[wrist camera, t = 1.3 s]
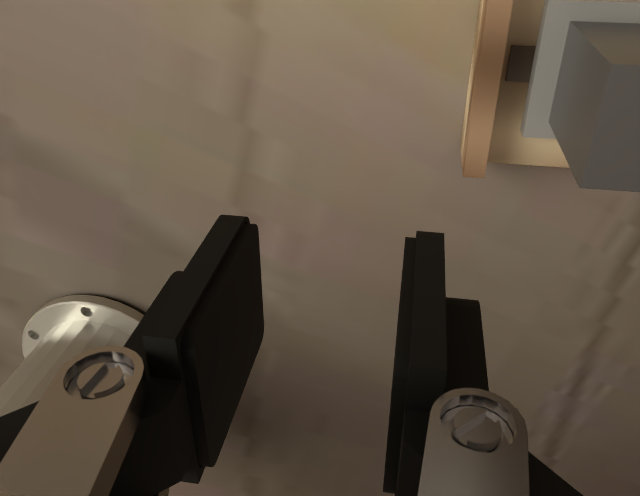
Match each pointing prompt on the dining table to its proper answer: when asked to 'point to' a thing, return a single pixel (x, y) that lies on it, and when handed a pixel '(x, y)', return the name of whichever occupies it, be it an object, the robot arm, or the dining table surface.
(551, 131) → the fader knob
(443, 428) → the robot arm
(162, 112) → the dining table surface
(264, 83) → the dining table surface
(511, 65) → the fader track
